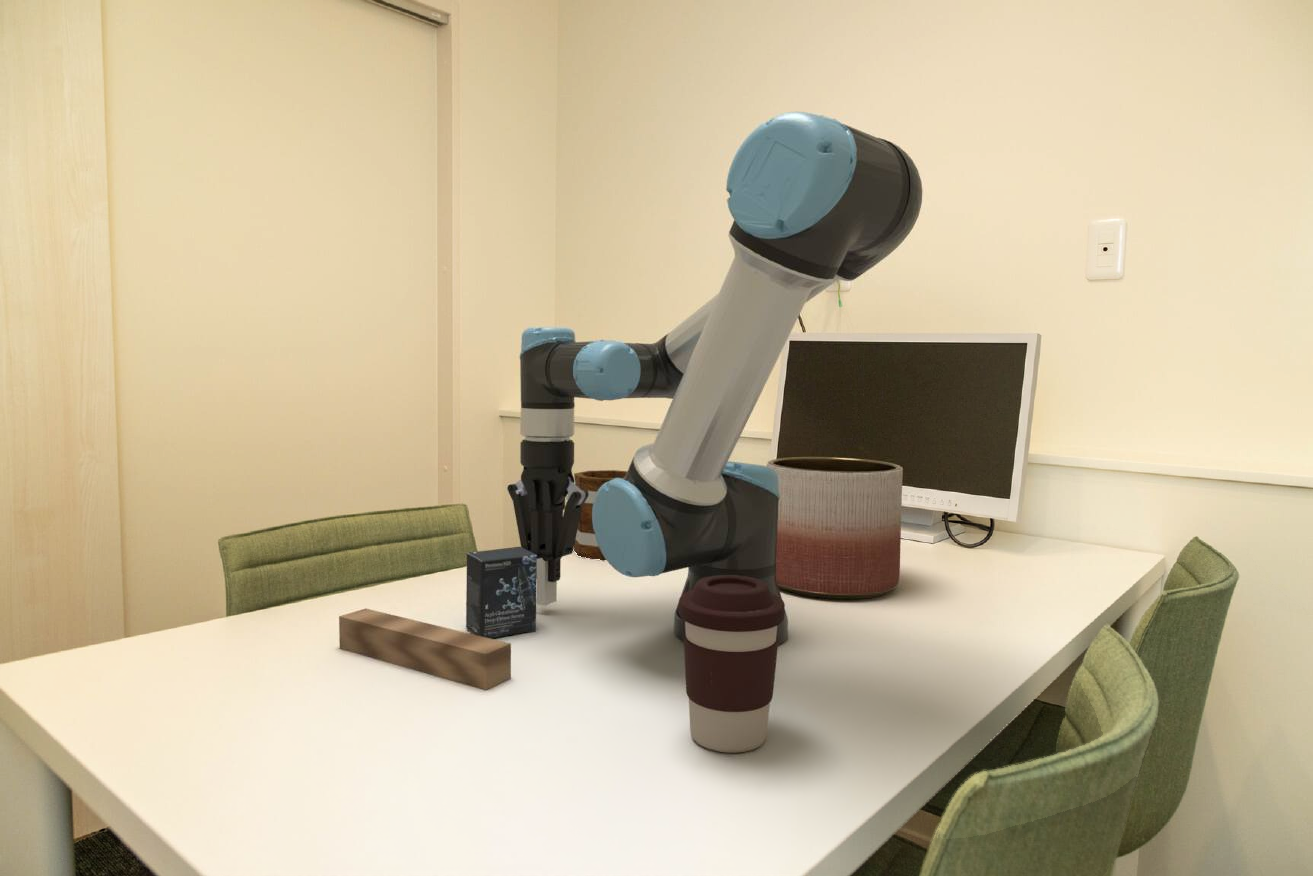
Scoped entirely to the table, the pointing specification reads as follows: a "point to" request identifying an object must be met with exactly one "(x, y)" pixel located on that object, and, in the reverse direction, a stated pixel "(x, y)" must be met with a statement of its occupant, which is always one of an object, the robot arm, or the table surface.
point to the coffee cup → (730, 660)
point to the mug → (585, 533)
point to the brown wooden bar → (426, 648)
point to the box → (501, 592)
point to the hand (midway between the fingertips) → (546, 602)
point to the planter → (838, 526)
